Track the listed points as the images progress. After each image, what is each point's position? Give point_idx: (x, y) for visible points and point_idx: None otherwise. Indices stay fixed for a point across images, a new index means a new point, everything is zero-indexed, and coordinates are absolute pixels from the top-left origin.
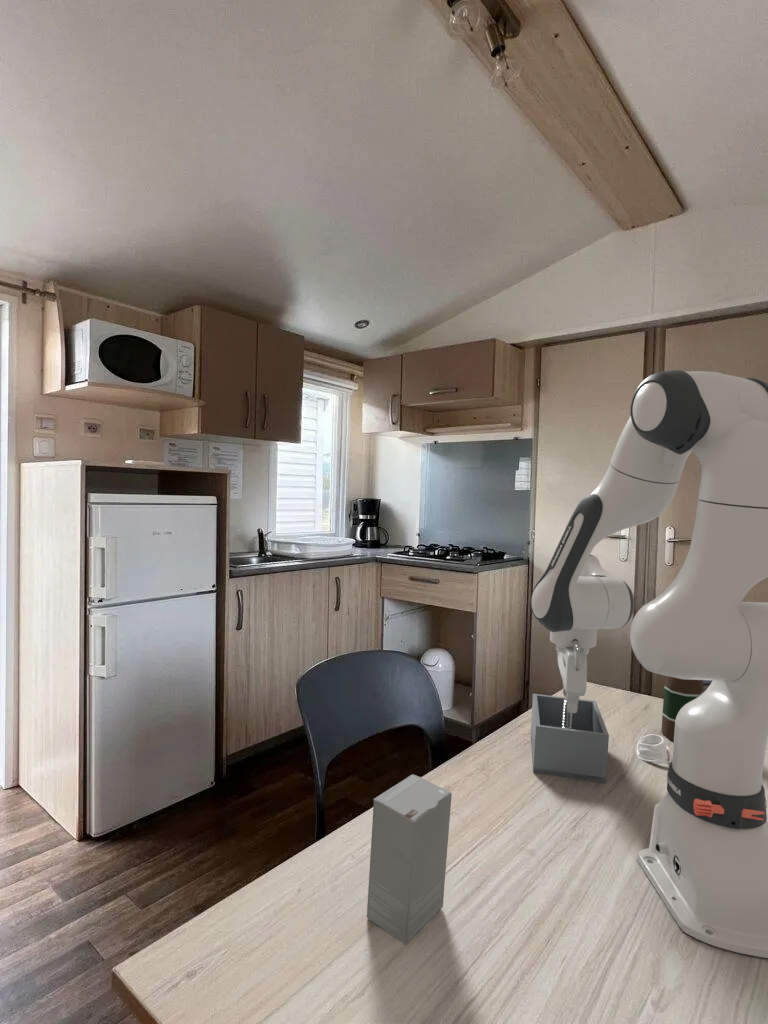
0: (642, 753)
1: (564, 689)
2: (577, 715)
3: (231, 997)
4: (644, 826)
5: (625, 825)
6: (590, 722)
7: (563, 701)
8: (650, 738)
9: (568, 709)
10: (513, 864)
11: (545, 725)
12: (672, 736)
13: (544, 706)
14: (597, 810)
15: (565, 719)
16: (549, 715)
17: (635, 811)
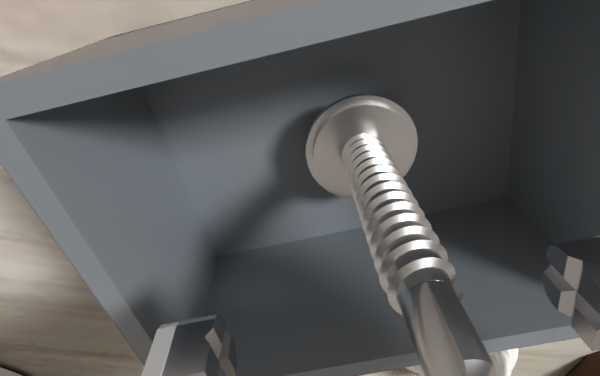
0: None
1: (594, 285)
2: (573, 200)
3: None
4: (53, 337)
5: (19, 310)
6: (548, 235)
7: None
8: (500, 365)
9: (159, 340)
10: None
11: (543, 18)
12: (588, 372)
13: None
14: (33, 256)
15: (360, 203)
16: (582, 48)
17: (108, 321)
